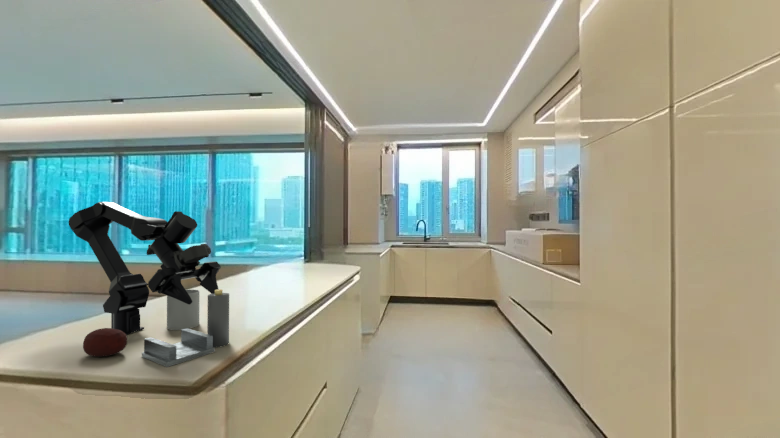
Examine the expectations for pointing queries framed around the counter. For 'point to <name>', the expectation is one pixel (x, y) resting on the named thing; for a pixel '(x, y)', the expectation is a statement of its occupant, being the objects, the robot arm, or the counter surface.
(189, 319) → the cup
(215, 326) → the plug
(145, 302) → the robot arm
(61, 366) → the counter surface
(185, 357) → the housing
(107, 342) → the potato
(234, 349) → the counter surface
